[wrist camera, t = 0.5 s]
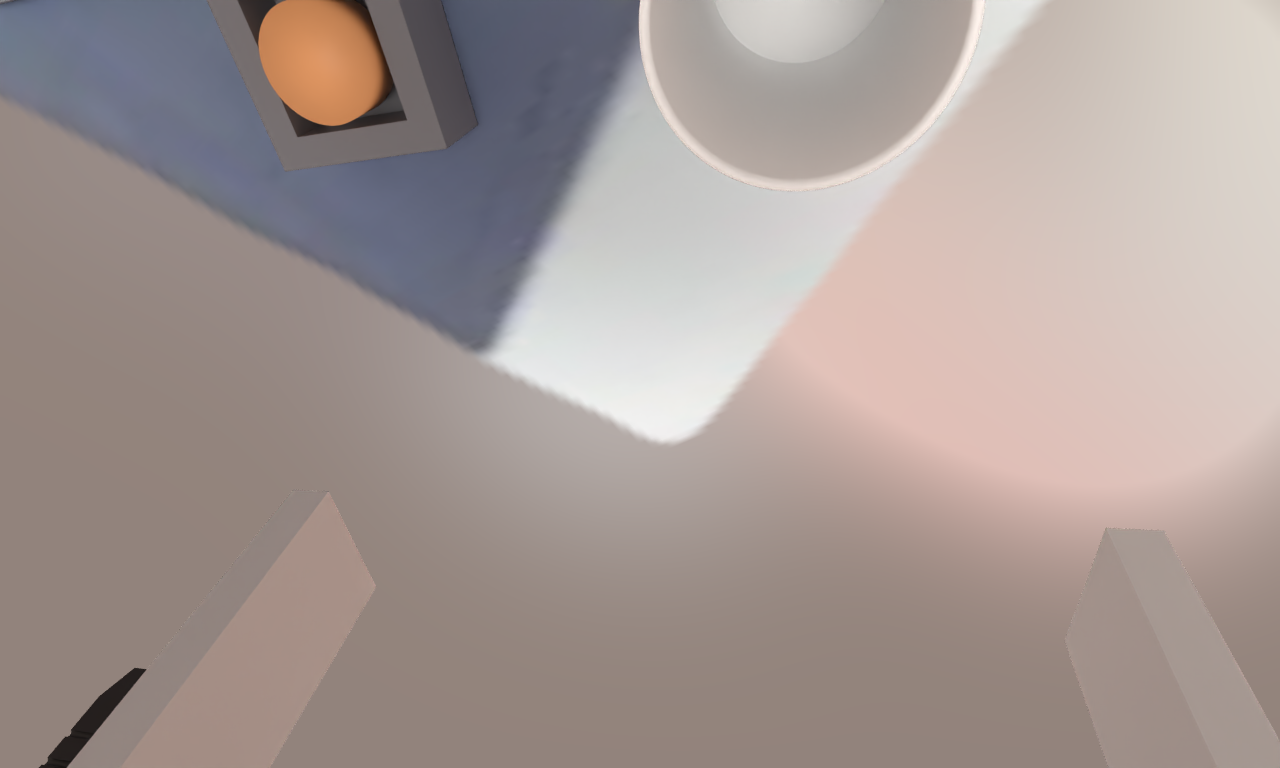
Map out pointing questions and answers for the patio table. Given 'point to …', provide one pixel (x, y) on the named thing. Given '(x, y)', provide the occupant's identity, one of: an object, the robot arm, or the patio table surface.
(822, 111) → the cup
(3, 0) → the slate board
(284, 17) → the button
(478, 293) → the patio table surface
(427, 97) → the button box
